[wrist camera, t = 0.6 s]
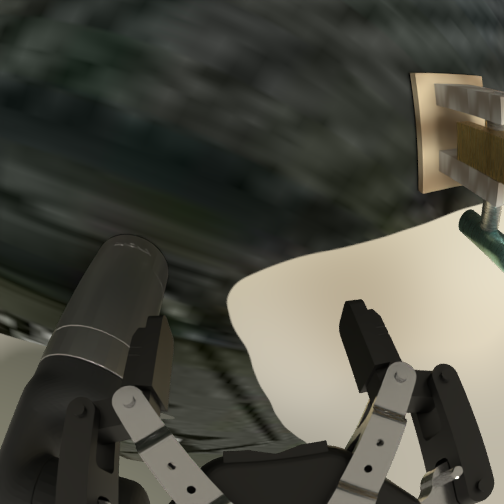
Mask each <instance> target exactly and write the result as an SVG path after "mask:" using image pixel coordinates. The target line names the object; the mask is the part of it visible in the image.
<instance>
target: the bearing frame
mask: <svg viewBox="0 0 504 504" xmlns="http://www.w3.org/2000/svg"><path fill="white" fill-rule="evenodd" d="M410 77H411V84H412V91H413V99H414V108H415V118H416V129H417V145H418V176H419V191H420V192H421V193H423V194H424V193H428V192H433V191H437V190H442V189H447V188H451V187H456V186H461V185H463V186H465V187H466V188H468V189H469V190H471V191H472V192H474V193H475V194H477V195H478V196H480V197H481V198H483V199H484V200H486V201H487V202H489V203H490V204H491V205H493V206H494V207H499V206H503V205H504V185H503V184H502V183H500V182H498V181H496V180H495V179H493V178H491V177H489V176H488V175H486V174H484V173H482V172H480V171H479V170H477V169H475V168H473V167H471V166H469V165H467V164H465V163H463V162H461V161H459V160H457V124H456V122H461V121H470V122H473V123H476V124H479V125H482V126H485V120H488V121H491V122H494V123H497V124H500V125H504V92H502V91H498V90H494V89H489V88H484V87H483V86H482V77H481V76H473V75H461V74H443V73H410Z"/></svg>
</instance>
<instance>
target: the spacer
mask: <svg viewBox="0 0 504 504" xmlns="http://www.w3.org/2000/svg"><path fill="white" fill-rule="evenodd" d="M456 124H457V160H459V161H461V162H463V163H465V164H467V165H469V166H471V167H473V168H475V169H477V170H479V171H480V172H482V173H484V174H486V175H488V176H489V177H491V178H493V179H495V180H496V181H498V182H500V183H502V184H503V185H504V131H496V130H493V129H491V128H488V127H487V120H486V127H485V126H482V125H479V124H476V123H473V122H470V121H461V122H456Z"/></svg>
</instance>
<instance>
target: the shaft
mask: <svg viewBox="0 0 504 504" xmlns="http://www.w3.org/2000/svg"><path fill="white" fill-rule="evenodd" d="M487 127H488V128H491V129H493V130H496V131H504V125H500V124H497V123H494V122H491V121H488V120H487ZM501 209H502V206H499V207H494V206H493V205H491V204H490V203H489V202H487V201H486V200H484V199H483V207H482V214H481V216H480V215H479V214H477V213H476V212H475V211H474V210H467V211H466V212H464V213H463V215H462V216H461V218H460V221H459V230H460V231H461V232H462V233H463V234H464V235H465V236H466V237H467V238H468V239H470V240H471V241H472V242H473V243H474V244H475V245H476V246H477V247H478V248H479V249H480V250H481V251H483V252H484V253H485V254H486V255H487V256H488V257H489V258H490V259H491V260H492V261H493V262H494V263H495V264H496V265H497V266H498V267H499V268H500V269H501V270H502V271H503V272H504V234H502V233H501V232H500V231H499V230H498V226H499V221H500V215H501Z"/></svg>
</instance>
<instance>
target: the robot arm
mask: <svg viewBox="0 0 504 504" xmlns="http://www.w3.org/2000/svg"><path fill="white" fill-rule="evenodd" d="M167 279H168V266H167V262H166V260H165V258H164V256H163V254H162V253H161V252H160V251H159V249H158V248H156V247H155V246H154V245H153V244H152V243H150V242H149V241H147V240H145V239H143V238H140V237H138V236H133V235H119V236H115V237H112V238H110V239H108V240H107V241H106V242H105V243H104V244H103V245H102V246H101V248H100V249H99V251H98V253H97V254H96V256H95V257H94V259H93V261H92V262H91V264H90V265H89V267H88V269H87V270H86V272H85V274H84V275H83V277H82V279H81V281H80V282H79V284H78V286H77V288H76V290H75V291H74V293H73V295H72V297H71V299H70V300H69V302H68V304H67V306H66V308H65V310H64V312H63V314H62V316H61V318H60V320H59V322H58V324H57V326H56V328H55V330H54V332H53V334H52V336H51V338H50V341H49V343H48V345H47V347H46V349H45V351H44V354H43V356H42V358H41V360H40V363H39V365H38V368H37V370H36V372H35V374H34V376H33V377H32V379H31V380H30V381H29V382H28V384H27V385H26V387H25V388H24V390H23V393H22V395H21V397H20V400H19V402H18V405H17V407H16V410H15V413H14V415H13V418H12V420H11V423H10V425H9V428H8V431H7V433H6V436H5V438H4V441H3V444H2V446H1V449H0V504H150V501H149V498H148V495H147V493H146V492H145V490H144V488H143V487H142V486H141V485H140V484H139V483H137V482H135V481H132V480H129V479H126V478H123V477H119V453H120V441H124V440H128V439H132V440H133V441H134V443H135V445H136V449H137V451H138V453H139V454H140V456H141V457H142V459H143V460H144V462H145V463H146V465H147V466H148V468H149V469H150V470H151V471H152V473H153V474H154V476H155V477H156V479H157V480H158V481H159V482H160V484H161V485H162V486H163V488H164V489H165V490H166V492H167V493H168V494H169V495H170V496H171V498H172V499H173V500H172V501H171V502H170V503H169V504H475V503H478V502H480V501H483V500H485V499H486V498H487V497H488V496H489V495H490V494H491V492H492V490H493V487H494V478H493V474H492V470H491V466H490V463H489V459H488V456H487V452H486V449H485V446H484V443H483V439H482V436H481V433H480V431H479V428H478V425H477V422H476V419H475V416H474V414H473V411H472V408H471V406H470V403H469V401H468V398H467V396H466V393H465V391H464V388H463V386H462V384H461V381H460V379H459V376H458V374H457V372H456V371H455V369H454V368H453V367H451V366H450V365H447V364H439V365H437V366H436V367H435V368H434V370H433V371H420V370H414V369H413V367H412V366H410V365H409V364H407V363H405V362H402V361H401V359H400V357H399V354H398V352H397V350H396V348H395V346H394V344H393V341H392V339H391V337H390V335H389V334H388V331H387V329H386V327H385V325H384V323H383V321H382V318H381V316H380V315H378V314H377V313H376V312H375V311H374V310H373V309H370V310H367V308H366V306H365V303H364V301H363V300H361V299H359V300H352V301H346V302H345V304H344V308H343V312H342V315H341V319H340V324H339V332H340V336H341V339H342V342H343V345H344V348H345V350H346V354H347V356H348V359H349V362H350V365H351V368H352V371H353V374H354V377H355V381H356V383H357V387H358V390H359V393H363V392H368V395H369V398H370V399H369V401H368V403H367V405H366V408H365V410H364V412H363V415H362V417H361V419H360V421H359V423H358V425H357V428H356V430H355V432H354V434H353V435H352V437H351V439H350V440H349V442H348V444H347V446H346V447H345V449H343V448H339V447H336V446H329V445H327V442H326V440H325V441H321V442H314V443H308V444H302V445H299V446H297V447H294V448H291V449H289V450H286V451H283V452H280V453H277V454H272V453H264V452H257V451H251V450H244V451H223V457H219V458H216V459H214V460H212V461H210V462H208V463H206V464H205V465H204V466H202V467H201V468H199V467H198V465H197V464H196V463H195V462H194V461H193V460H192V458H191V457H190V456H189V455H188V454H187V452H186V451H185V450H184V449H183V448H182V446H181V445H180V444H179V443H178V441H177V440H176V439H175V437H174V436H173V435H172V434H171V432H170V431H169V430H168V428H167V427H166V426H165V424H164V423H163V422H162V420H161V419H160V412H161V411H168V403H169V392H170V381H171V371H172V362H173V353H174V340H173V336H172V333H171V330H170V327H169V324H168V321H167V318H166V316H165V315H159V314H160V309H161V305H162V301H163V297H164V292H165V288H166V284H167ZM406 413H411V416H412V420H413V423H414V426H415V430H416V433H417V437H418V440H419V444H420V448H421V452H422V455H423V460H424V464H425V468H426V472H427V473H426V474H425V475H424V476H423V478H422V480H421V487H420V490H421V492H420V495H419V497H418V499H416V498H415V497H414V496H412V495H411V494H409V493H408V492H406V491H405V490H403V489H402V488H400V487H399V486H397V485H396V484H394V483H393V482H391V481H390V480H389V479H387V478H386V475H387V473H388V470H389V468H390V466H391V463H392V461H393V459H394V456H395V453H396V451H397V449H398V445H399V443H400V440H401V438H402V435H403V432H404V429H405V426H406V422H407V420H406V419H405V415H406Z"/></svg>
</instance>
